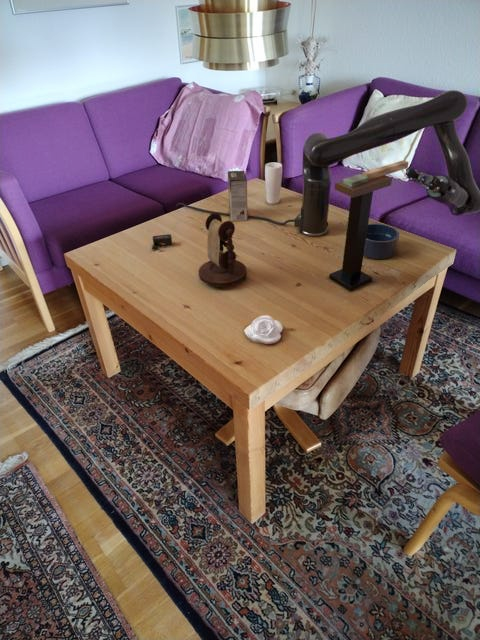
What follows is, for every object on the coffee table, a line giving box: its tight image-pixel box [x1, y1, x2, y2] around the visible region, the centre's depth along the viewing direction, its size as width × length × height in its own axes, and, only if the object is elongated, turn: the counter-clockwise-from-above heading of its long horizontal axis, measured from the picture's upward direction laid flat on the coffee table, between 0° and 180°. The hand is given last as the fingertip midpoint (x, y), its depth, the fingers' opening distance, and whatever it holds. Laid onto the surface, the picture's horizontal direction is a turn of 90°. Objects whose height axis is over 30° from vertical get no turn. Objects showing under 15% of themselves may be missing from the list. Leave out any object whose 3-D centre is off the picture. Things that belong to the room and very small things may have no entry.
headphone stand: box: [328, 173, 393, 292], centre depth 134 cm, size 14×9×31 cm, turn 124°
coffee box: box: [227, 170, 248, 222], centre depth 177 cm, size 9×6×16 cm
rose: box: [244, 315, 283, 345], centre depth 122 cm, size 10×4×10 cm
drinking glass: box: [264, 162, 283, 205], centre depth 187 cm, size 7×7×15 cm
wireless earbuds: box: [151, 233, 173, 251], centre depth 162 cm, size 5×7×3 cm, turn 101°
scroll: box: [198, 213, 248, 290], centre depth 140 cm, size 15×15×20 cm
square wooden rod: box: [342, 160, 409, 187], centre depth 126 cm, size 22×3×2 cm, turn 124°
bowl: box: [363, 223, 400, 260], centre depth 156 cm, size 13×13×6 cm
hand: (419, 175), depth 137 cm, fingers open, 8 cm apart
